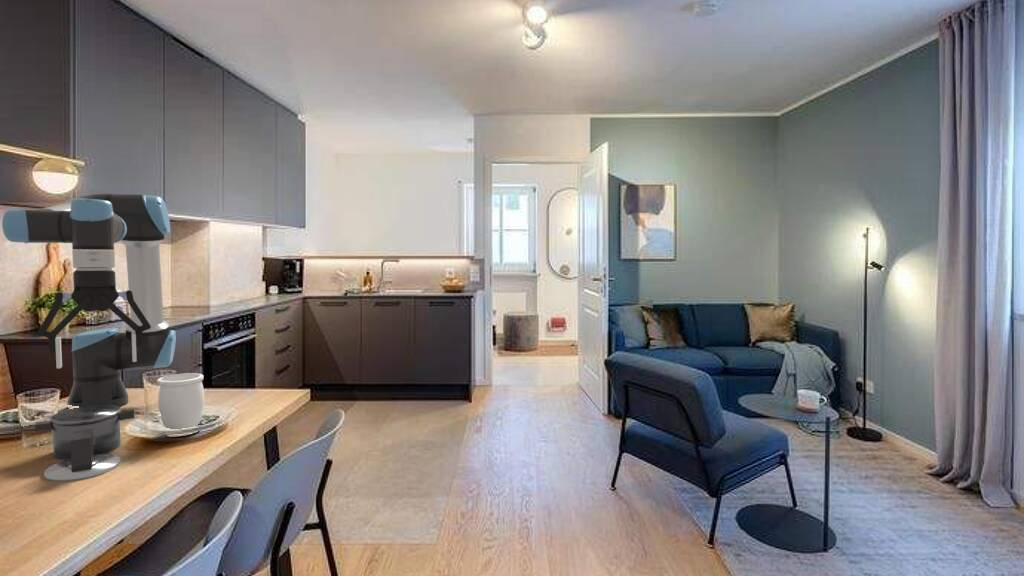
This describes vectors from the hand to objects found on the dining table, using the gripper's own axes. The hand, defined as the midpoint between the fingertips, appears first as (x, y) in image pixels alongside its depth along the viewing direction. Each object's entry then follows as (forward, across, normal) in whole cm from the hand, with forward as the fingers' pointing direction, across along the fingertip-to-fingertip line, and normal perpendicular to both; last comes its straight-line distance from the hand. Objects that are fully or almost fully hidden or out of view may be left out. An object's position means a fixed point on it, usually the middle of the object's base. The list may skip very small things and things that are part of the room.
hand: (98, 364), depth 126 cm
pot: (+23, -3, +13) cm, 26 cm away
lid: (+23, -3, -1) cm, 23 cm away
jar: (+23, +17, +14) cm, 32 cm away
